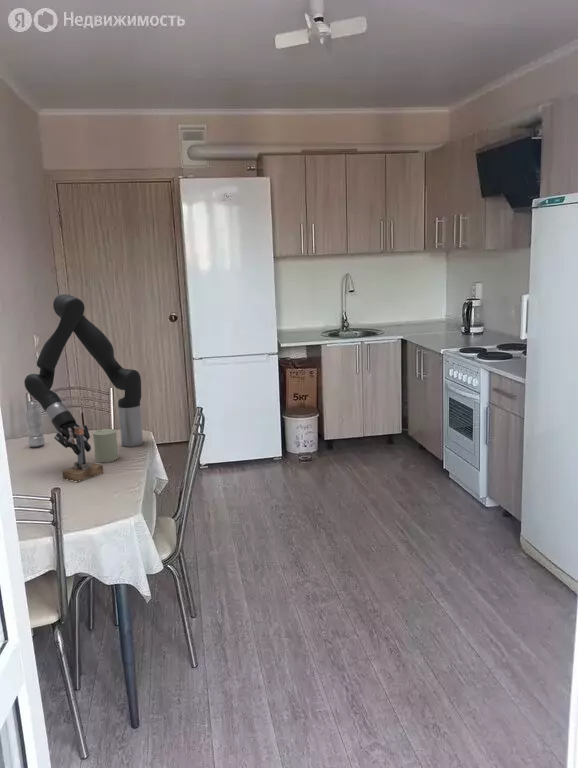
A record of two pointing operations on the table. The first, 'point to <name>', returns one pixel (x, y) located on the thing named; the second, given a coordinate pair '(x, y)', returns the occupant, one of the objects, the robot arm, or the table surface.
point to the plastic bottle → (34, 425)
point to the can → (105, 445)
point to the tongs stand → (82, 471)
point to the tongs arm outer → (79, 444)
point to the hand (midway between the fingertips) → (84, 451)
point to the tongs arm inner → (83, 445)
